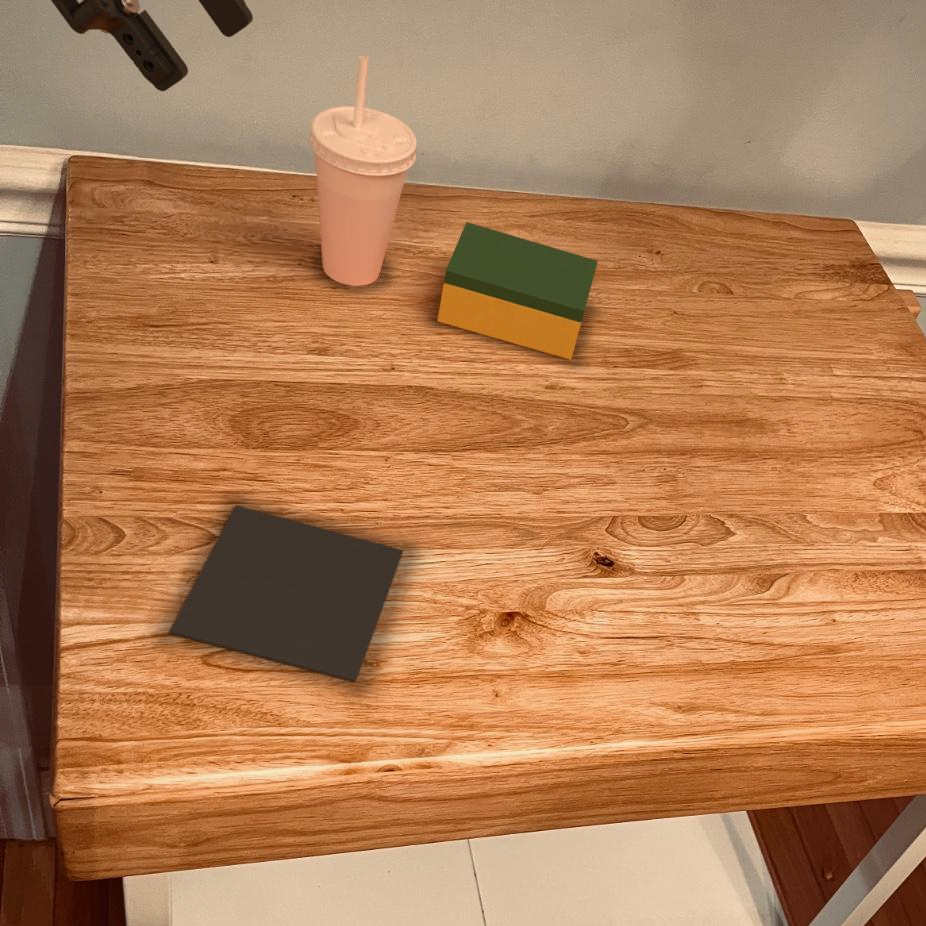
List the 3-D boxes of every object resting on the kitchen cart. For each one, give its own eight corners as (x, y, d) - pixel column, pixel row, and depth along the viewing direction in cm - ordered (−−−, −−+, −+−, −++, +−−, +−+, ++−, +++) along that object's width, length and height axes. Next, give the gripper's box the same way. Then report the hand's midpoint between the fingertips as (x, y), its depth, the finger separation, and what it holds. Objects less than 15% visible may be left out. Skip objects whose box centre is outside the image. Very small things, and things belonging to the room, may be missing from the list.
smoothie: (346, 229, 81) (364, 25, 71) (419, 274, 80) (449, 72, 70) (280, 263, 77) (290, 51, 67) (356, 311, 76) (378, 102, 65)
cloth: (169, 633, 56) (169, 631, 56) (235, 507, 62) (235, 504, 62) (355, 682, 57) (355, 679, 57) (402, 552, 63) (402, 550, 63)
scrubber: (437, 321, 77) (445, 269, 74) (457, 272, 81) (466, 221, 78) (570, 360, 78) (584, 310, 75) (584, 309, 82) (598, 260, 79)
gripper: (-42, -252, 55) (197, 73, 63) (114, -303, 64) (303, -16, 73) (-129, -163, 58) (108, 133, 67) (31, -224, 68) (220, 40, 77)
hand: (210, 55), depth 70 cm, fingers open, 8 cm apart
